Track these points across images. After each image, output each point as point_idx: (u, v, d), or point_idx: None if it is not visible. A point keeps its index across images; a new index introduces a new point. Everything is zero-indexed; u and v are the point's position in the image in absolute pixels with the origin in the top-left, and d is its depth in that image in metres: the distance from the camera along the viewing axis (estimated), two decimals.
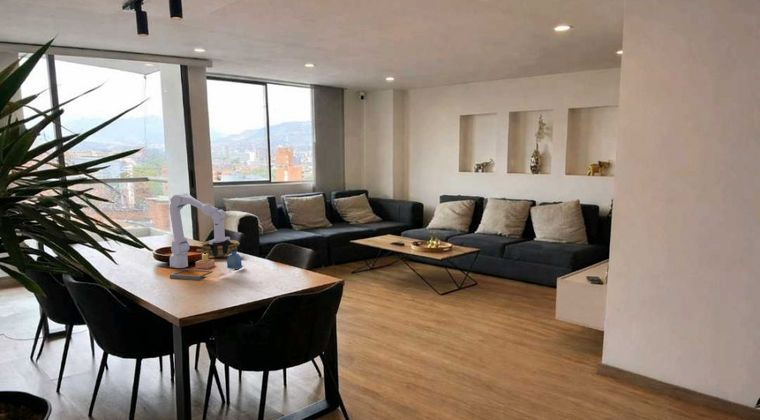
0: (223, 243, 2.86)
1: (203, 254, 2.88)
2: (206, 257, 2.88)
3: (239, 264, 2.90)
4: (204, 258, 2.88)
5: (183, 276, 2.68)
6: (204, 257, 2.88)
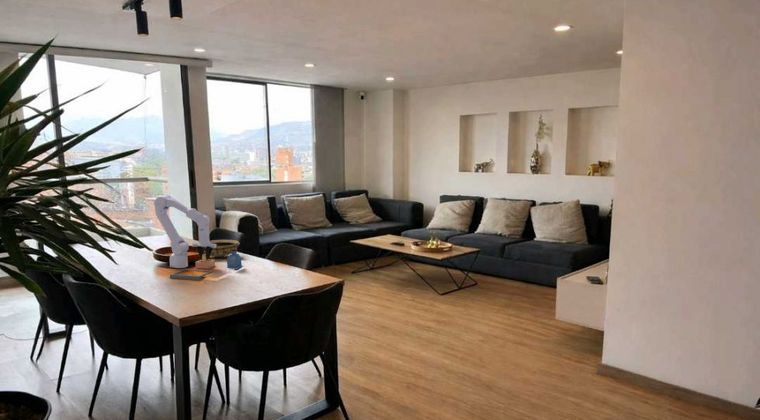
0: None
1: (203, 254, 2.88)
2: None
3: (239, 264, 2.90)
4: (204, 258, 2.88)
5: (183, 276, 2.68)
6: (204, 257, 2.88)
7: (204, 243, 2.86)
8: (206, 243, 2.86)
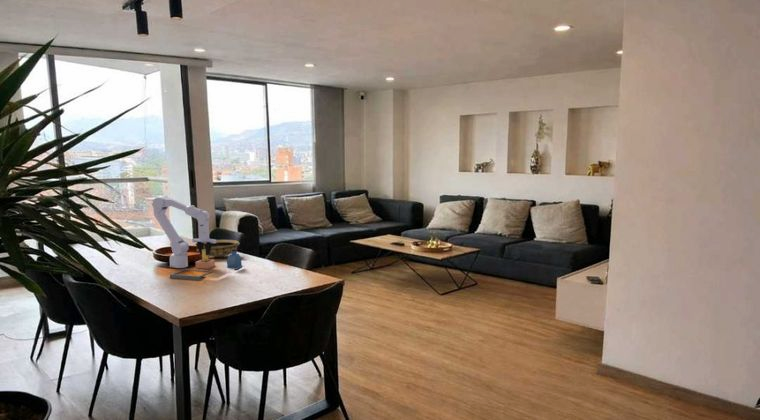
0: None
1: (203, 250, 2.88)
2: None
3: (239, 264, 2.90)
4: (204, 254, 2.87)
5: (183, 276, 2.68)
6: (204, 253, 2.87)
7: (204, 238, 2.85)
8: (206, 238, 2.86)
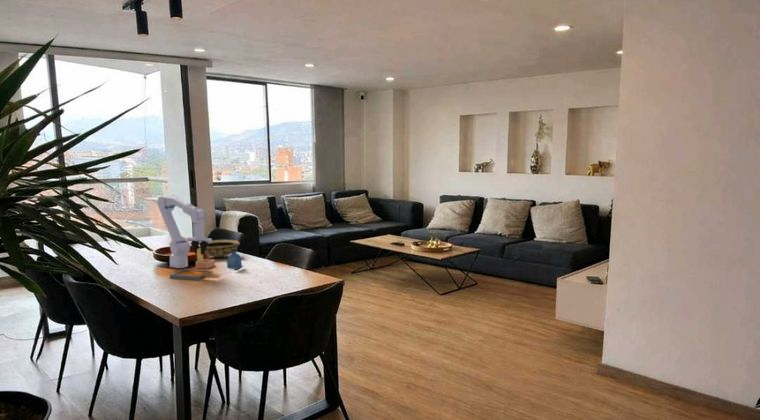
0: None
1: (198, 249, 2.81)
2: None
3: (239, 264, 2.90)
4: (199, 253, 2.81)
5: (183, 276, 2.68)
6: (199, 252, 2.80)
7: (199, 237, 2.78)
8: (201, 237, 2.79)
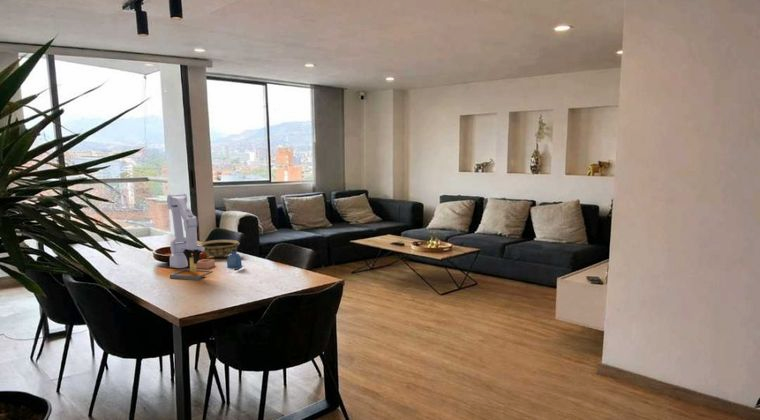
0: None
1: (191, 258, 2.72)
2: None
3: (239, 264, 2.90)
4: (192, 262, 2.71)
5: (183, 276, 2.68)
6: (192, 261, 2.71)
7: (191, 246, 2.69)
8: (194, 246, 2.70)
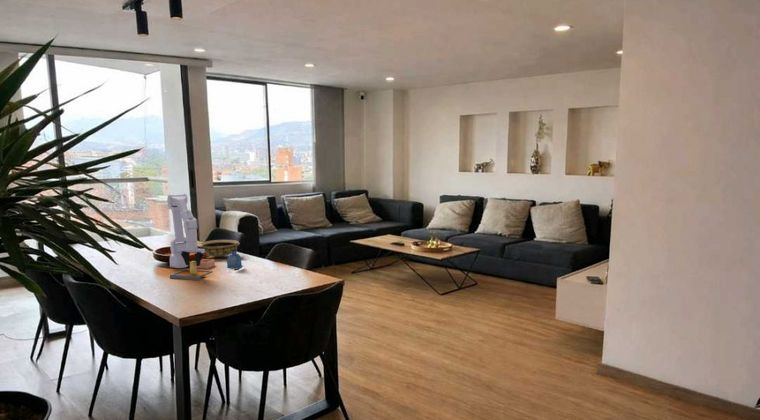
0: None
1: (191, 261, 2.72)
2: (194, 265, 2.72)
3: (239, 264, 2.90)
4: (192, 266, 2.72)
5: (183, 276, 2.68)
6: (192, 265, 2.72)
7: (192, 248, 2.69)
8: (194, 248, 2.70)
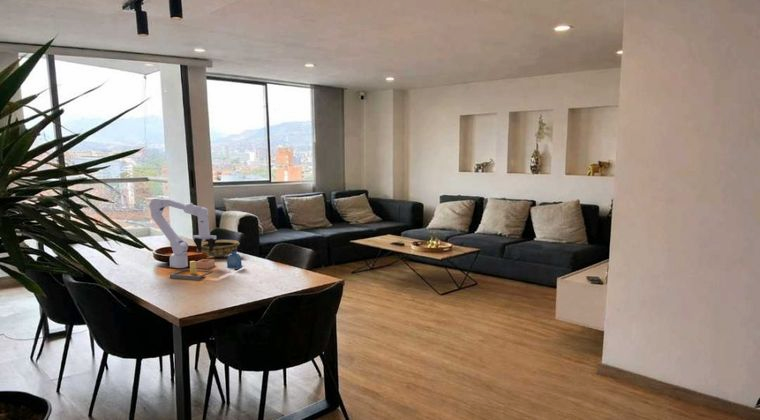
0: None
1: (191, 261, 2.72)
2: (194, 265, 2.72)
3: (239, 264, 2.90)
4: (192, 266, 2.72)
5: (183, 276, 2.68)
6: (192, 265, 2.72)
7: (204, 235, 2.86)
8: (206, 235, 2.87)
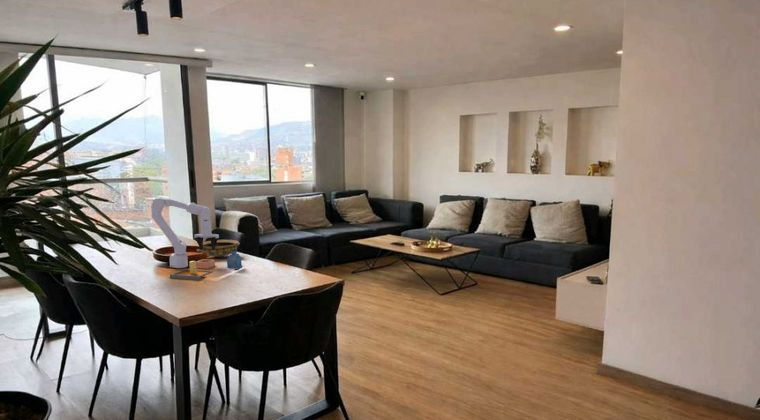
0: None
1: (190, 262, 2.72)
2: (194, 265, 2.72)
3: (239, 264, 2.90)
4: (192, 266, 2.72)
5: (183, 276, 2.68)
6: (192, 265, 2.72)
7: (206, 234, 2.90)
8: (208, 234, 2.91)
